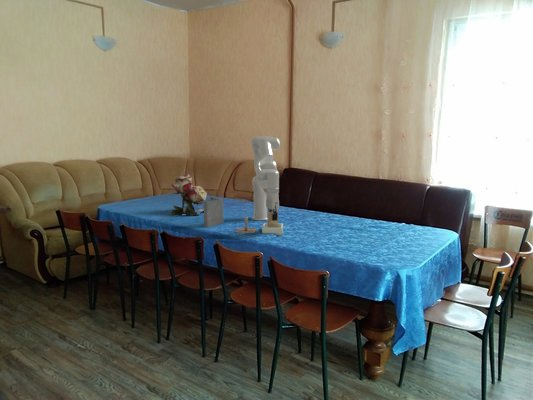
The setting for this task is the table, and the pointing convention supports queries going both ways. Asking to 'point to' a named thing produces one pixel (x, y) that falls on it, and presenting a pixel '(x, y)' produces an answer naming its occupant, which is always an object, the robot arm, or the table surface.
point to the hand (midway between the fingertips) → (272, 219)
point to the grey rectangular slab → (213, 212)
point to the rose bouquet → (188, 196)
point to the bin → (273, 229)
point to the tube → (272, 221)
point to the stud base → (250, 230)
